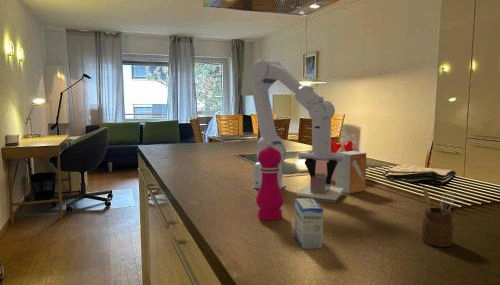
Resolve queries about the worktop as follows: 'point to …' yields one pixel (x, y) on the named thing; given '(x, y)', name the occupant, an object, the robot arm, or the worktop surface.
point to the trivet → (328, 197)
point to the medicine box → (308, 223)
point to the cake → (335, 148)
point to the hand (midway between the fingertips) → (320, 183)
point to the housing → (319, 184)
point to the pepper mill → (269, 184)
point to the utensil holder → (437, 224)
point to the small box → (351, 172)
